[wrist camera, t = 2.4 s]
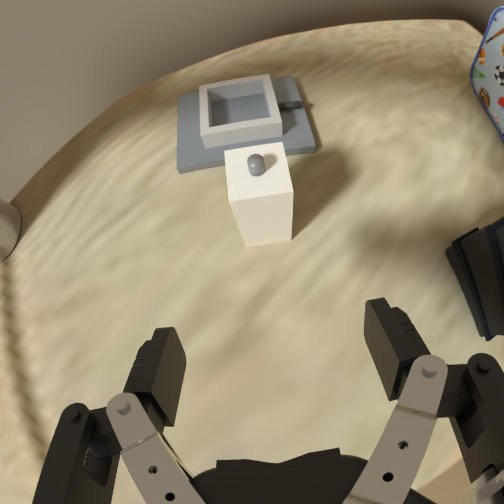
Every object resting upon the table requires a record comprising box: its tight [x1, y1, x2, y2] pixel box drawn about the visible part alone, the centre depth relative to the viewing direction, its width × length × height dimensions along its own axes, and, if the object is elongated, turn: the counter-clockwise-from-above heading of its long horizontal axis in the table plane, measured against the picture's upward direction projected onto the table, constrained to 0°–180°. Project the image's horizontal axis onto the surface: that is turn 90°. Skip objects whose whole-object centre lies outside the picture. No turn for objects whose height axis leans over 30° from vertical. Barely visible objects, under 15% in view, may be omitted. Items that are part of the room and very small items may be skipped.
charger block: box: [224, 142, 293, 247], centre depth 26 cm, size 5×5×11 cm
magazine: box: [445, 217, 504, 341], centre depth 21 cm, size 4×13×15 cm, turn 21°
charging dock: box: [177, 74, 316, 174], centre depth 35 cm, size 16×13×4 cm
